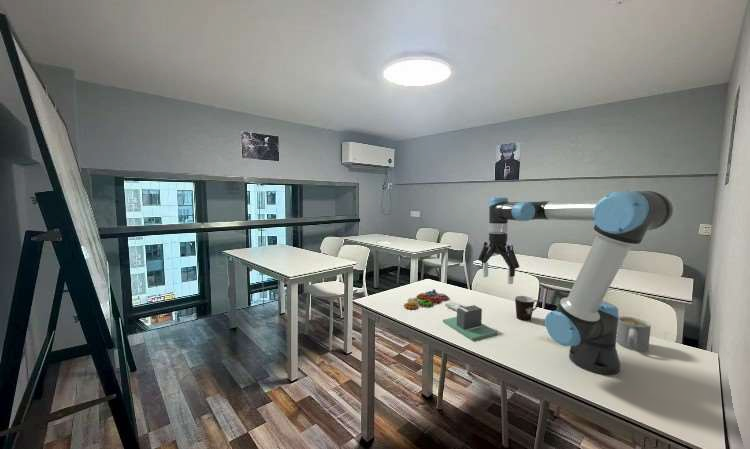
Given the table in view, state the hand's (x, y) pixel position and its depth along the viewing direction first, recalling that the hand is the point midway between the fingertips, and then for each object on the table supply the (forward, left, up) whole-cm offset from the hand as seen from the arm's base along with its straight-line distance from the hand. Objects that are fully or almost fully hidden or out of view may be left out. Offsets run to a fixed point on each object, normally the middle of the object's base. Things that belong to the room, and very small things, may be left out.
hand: (497, 280), depth 134 cm
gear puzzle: (+43, +10, -24) cm, 50 cm away
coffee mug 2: (-34, -38, -23) cm, 56 cm away
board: (+6, +10, -23) cm, 26 cm away
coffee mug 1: (+2, -23, -23) cm, 33 cm away
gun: (+23, 0, -24) cm, 33 cm away
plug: (+6, +10, -22) cm, 25 cm away
